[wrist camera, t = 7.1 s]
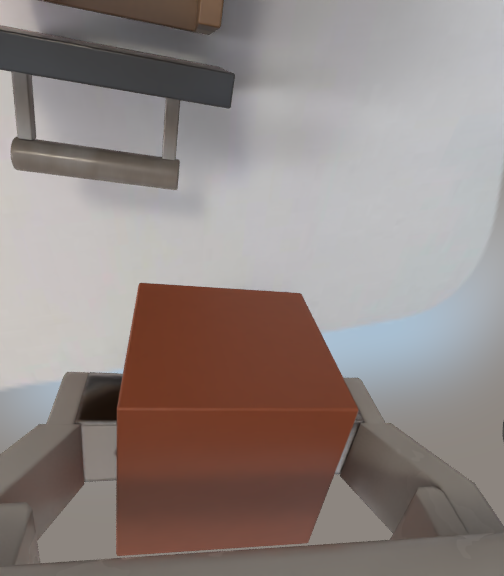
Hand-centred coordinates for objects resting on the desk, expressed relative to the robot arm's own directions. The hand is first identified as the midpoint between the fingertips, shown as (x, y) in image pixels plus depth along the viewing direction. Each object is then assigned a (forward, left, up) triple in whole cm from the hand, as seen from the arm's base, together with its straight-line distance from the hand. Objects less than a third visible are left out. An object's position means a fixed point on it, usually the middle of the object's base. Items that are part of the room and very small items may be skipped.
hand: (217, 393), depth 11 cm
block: (0, 0, -2) cm, 2 cm away
